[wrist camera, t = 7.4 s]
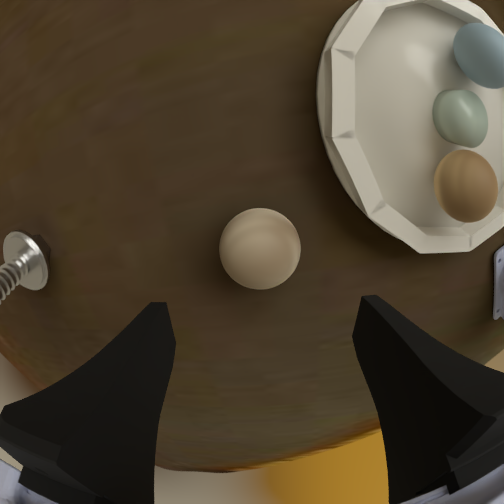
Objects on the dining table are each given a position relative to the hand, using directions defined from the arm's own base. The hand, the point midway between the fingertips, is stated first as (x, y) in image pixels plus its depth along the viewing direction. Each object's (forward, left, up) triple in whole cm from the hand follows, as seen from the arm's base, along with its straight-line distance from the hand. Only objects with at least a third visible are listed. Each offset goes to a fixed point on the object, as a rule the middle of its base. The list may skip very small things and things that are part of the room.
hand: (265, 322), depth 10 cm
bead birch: (0, 0, -8) cm, 8 cm away
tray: (+1, -15, -8) cm, 17 cm away
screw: (+8, +15, -8) cm, 19 cm away
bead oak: (-3, -13, -7) cm, 15 cm away
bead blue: (+4, -18, -8) cm, 20 cm away
